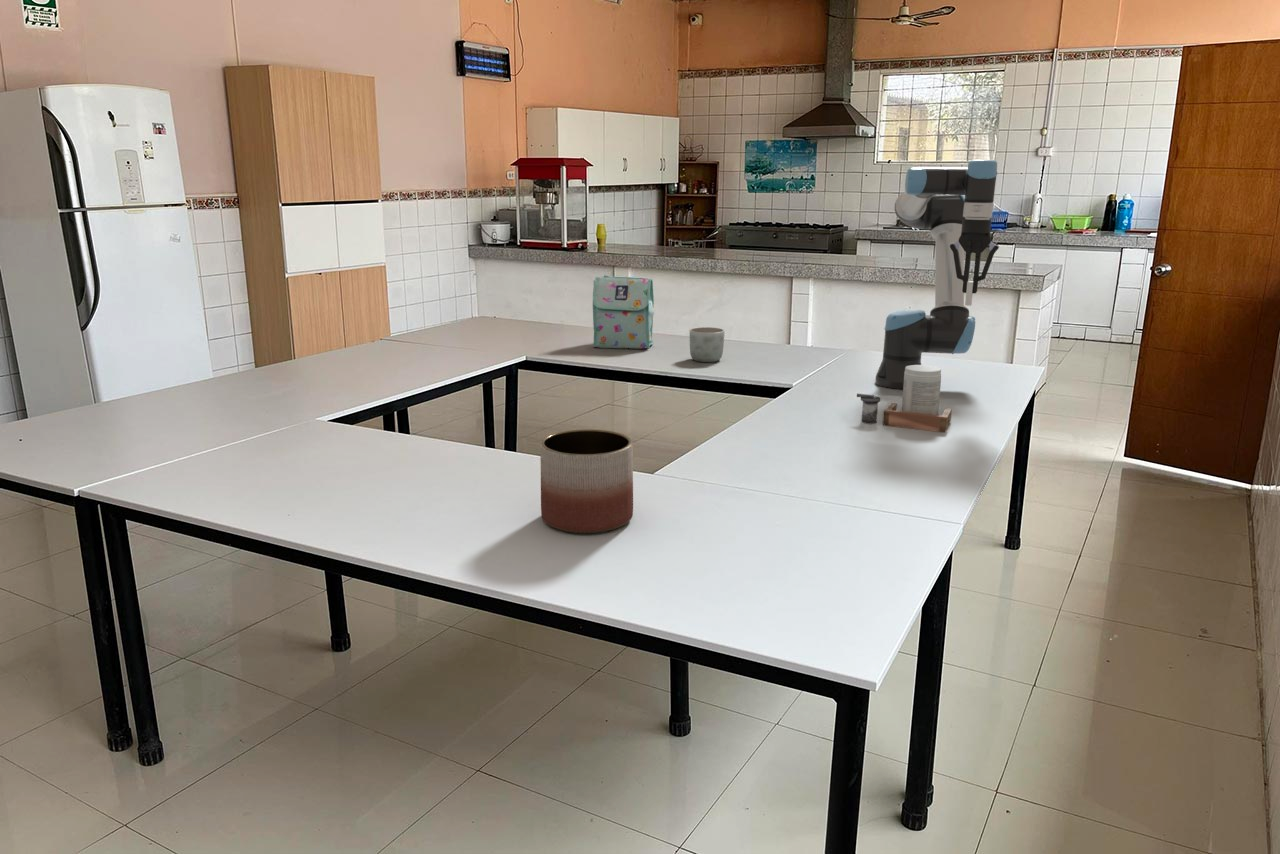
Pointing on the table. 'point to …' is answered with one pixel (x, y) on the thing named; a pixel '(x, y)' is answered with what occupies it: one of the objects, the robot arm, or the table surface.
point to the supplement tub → (921, 389)
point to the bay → (916, 419)
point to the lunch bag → (623, 312)
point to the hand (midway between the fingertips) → (968, 304)
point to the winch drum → (869, 408)
